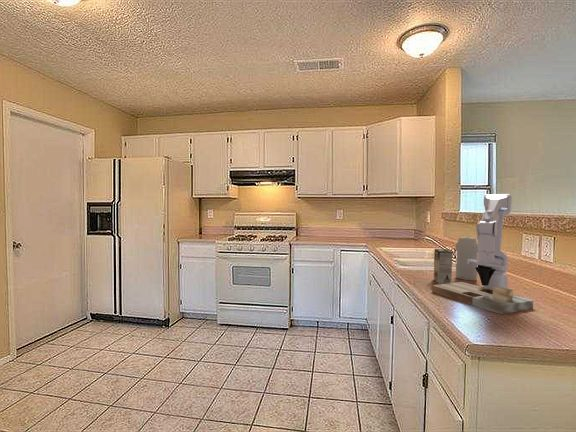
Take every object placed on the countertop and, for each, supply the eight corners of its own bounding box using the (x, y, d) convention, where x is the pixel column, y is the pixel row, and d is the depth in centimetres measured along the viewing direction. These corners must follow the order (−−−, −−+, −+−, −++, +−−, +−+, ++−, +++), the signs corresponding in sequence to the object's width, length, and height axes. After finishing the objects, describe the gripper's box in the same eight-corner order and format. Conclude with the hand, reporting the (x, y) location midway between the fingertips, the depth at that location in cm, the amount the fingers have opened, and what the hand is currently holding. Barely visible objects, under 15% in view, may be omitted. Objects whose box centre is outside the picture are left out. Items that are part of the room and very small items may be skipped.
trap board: (461, 288, 144) (461, 281, 144) (533, 308, 116) (533, 300, 116) (432, 292, 137) (432, 285, 137) (501, 314, 109) (501, 306, 109)
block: (500, 296, 120) (500, 286, 120) (512, 299, 116) (512, 289, 116) (492, 297, 119) (492, 287, 119) (504, 301, 115) (505, 290, 114)
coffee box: (433, 279, 161) (433, 248, 160) (446, 280, 160) (447, 249, 159) (438, 283, 152) (438, 251, 151) (452, 284, 151) (453, 251, 150)
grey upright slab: (478, 279, 160) (479, 237, 160) (477, 281, 157) (478, 238, 156) (455, 276, 167) (456, 236, 166) (453, 278, 164) (455, 236, 163)
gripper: (462, 249, 129) (461, 281, 129) (497, 254, 115) (496, 290, 116) (474, 248, 131) (473, 280, 132) (510, 253, 118) (508, 289, 119)
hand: (484, 285), depth 124 cm, fingers closed
